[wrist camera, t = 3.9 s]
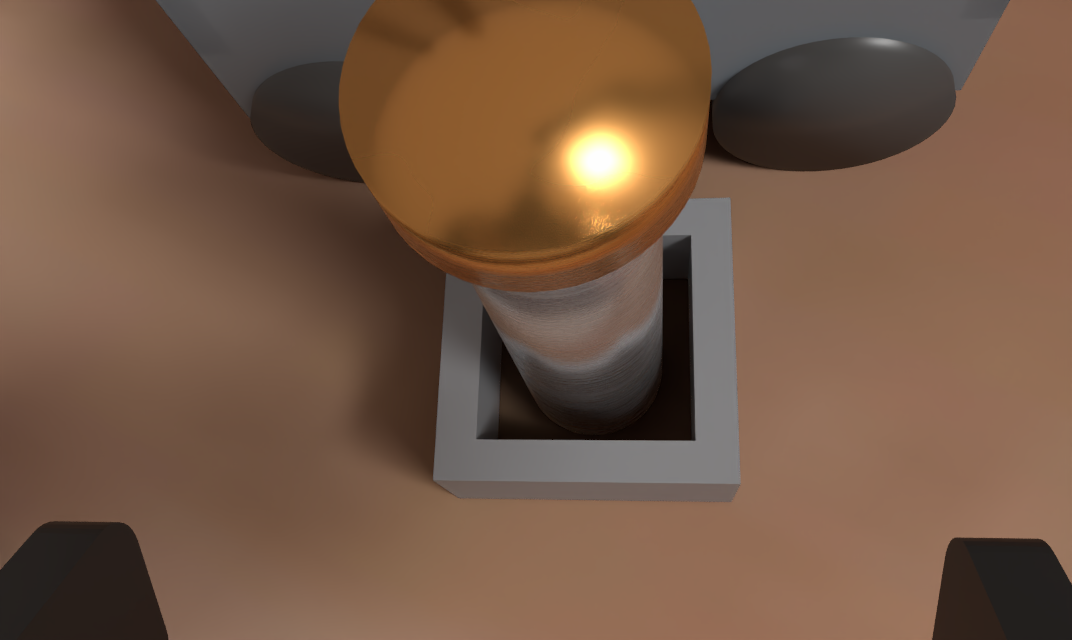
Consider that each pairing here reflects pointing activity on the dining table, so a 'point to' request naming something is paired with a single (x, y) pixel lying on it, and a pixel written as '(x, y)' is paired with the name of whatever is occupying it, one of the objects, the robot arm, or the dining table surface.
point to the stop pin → (540, 172)
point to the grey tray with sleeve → (690, 242)
